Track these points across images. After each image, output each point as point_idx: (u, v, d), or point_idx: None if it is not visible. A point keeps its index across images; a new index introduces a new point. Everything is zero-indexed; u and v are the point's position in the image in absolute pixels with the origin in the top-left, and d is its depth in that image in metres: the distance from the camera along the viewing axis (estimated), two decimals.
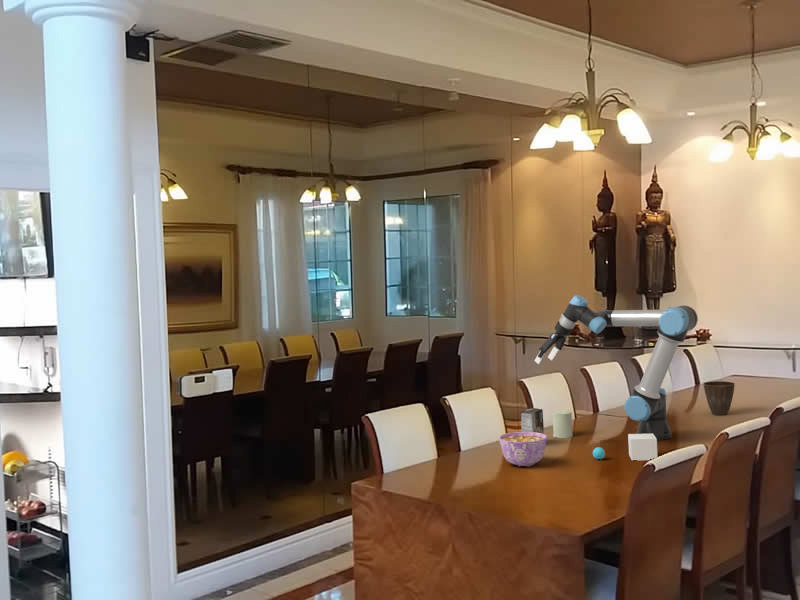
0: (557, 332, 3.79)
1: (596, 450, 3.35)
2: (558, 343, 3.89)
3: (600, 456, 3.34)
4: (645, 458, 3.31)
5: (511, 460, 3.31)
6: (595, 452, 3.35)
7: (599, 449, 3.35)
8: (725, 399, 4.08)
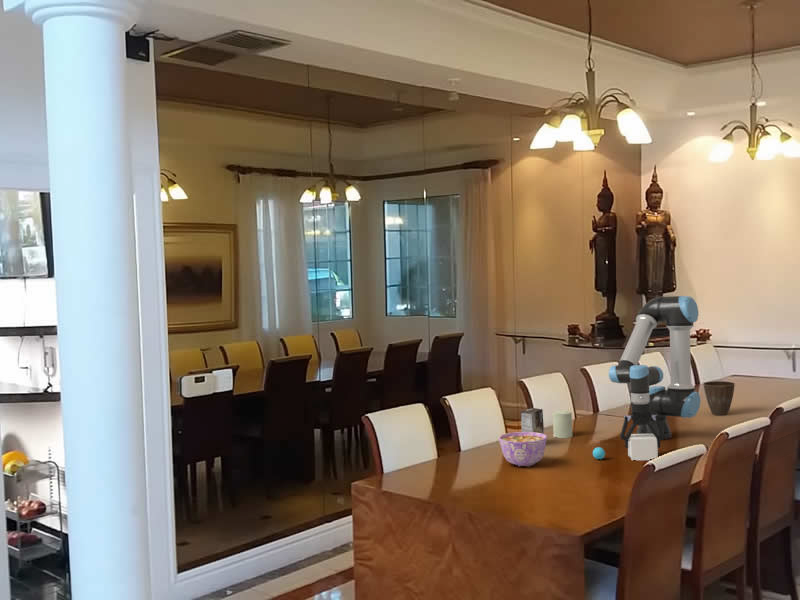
0: (650, 411, 3.34)
1: (596, 450, 3.35)
2: None
3: (600, 456, 3.34)
4: (645, 458, 3.31)
5: (511, 460, 3.31)
6: (595, 452, 3.35)
7: (599, 449, 3.35)
8: (725, 399, 4.08)
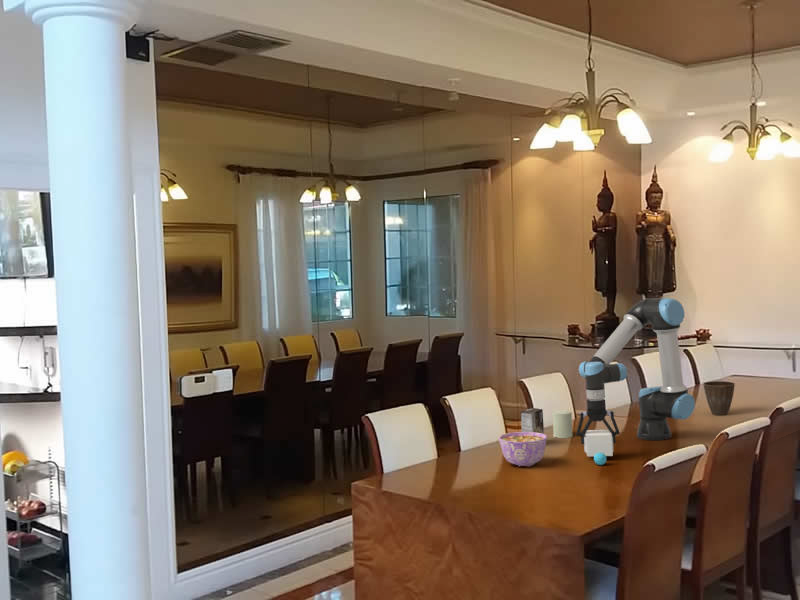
0: (605, 408, 3.37)
1: None
2: None
3: None
4: None
5: (511, 460, 3.31)
6: None
7: None
8: (725, 399, 4.08)
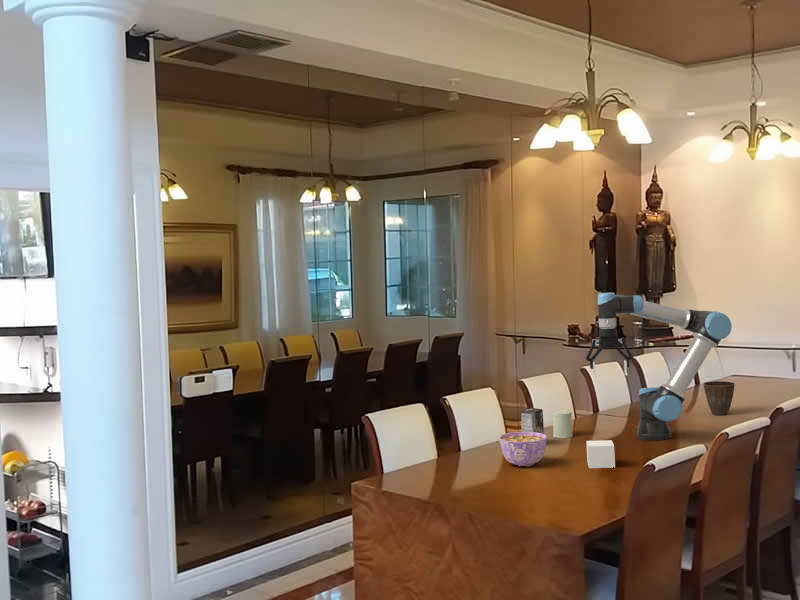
0: (616, 336, 3.54)
1: None
2: (598, 353, 3.56)
3: None
4: (602, 466, 3.23)
5: (511, 460, 3.31)
6: None
7: None
8: (725, 399, 4.08)
